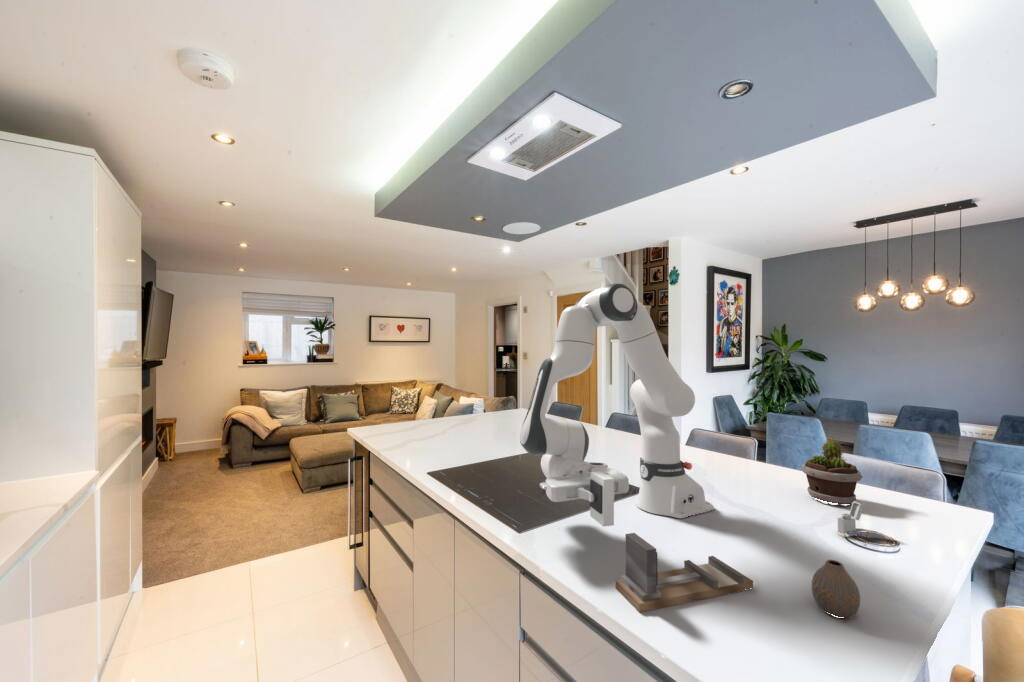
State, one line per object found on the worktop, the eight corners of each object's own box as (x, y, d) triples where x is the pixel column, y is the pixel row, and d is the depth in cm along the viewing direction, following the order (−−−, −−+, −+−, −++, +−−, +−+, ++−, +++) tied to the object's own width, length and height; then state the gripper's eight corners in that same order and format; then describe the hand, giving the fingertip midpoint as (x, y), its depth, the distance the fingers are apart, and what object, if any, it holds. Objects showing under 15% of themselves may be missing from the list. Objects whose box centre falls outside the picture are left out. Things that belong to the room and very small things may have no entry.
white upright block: (600, 514, 95) (600, 471, 95) (613, 525, 89) (613, 478, 90) (588, 516, 94) (589, 472, 94) (601, 526, 88) (602, 479, 89)
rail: (721, 568, 89) (721, 519, 89) (753, 588, 81) (752, 534, 81) (615, 588, 81) (615, 534, 82) (639, 612, 74) (638, 552, 74)
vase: (802, 601, 77) (801, 554, 77) (836, 599, 78) (835, 552, 78) (834, 625, 70) (833, 573, 70) (871, 623, 71) (870, 572, 71)
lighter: (844, 537, 104) (843, 505, 104) (837, 534, 105) (836, 503, 106) (864, 534, 106) (863, 502, 106) (857, 531, 108) (856, 500, 108)
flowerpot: (856, 514, 119) (854, 444, 120) (795, 499, 131) (793, 436, 132) (868, 502, 128) (866, 438, 129) (809, 490, 140) (808, 431, 141)
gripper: (536, 470, 101) (559, 487, 88) (610, 462, 107) (641, 477, 94) (537, 496, 101) (560, 517, 88) (610, 486, 107) (642, 505, 94)
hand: (603, 496), depth 91 cm, fingers closed on white upright block, 3 cm apart
